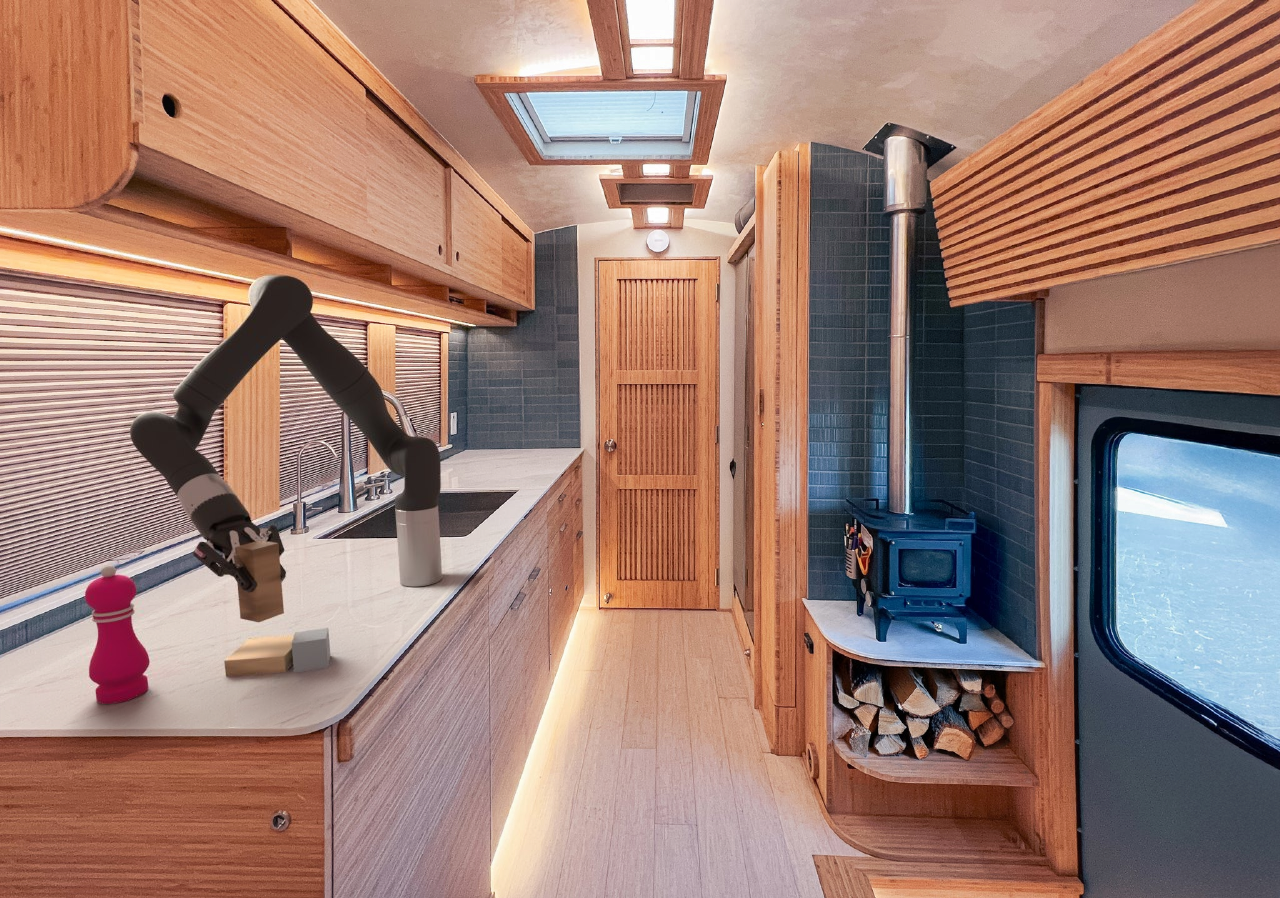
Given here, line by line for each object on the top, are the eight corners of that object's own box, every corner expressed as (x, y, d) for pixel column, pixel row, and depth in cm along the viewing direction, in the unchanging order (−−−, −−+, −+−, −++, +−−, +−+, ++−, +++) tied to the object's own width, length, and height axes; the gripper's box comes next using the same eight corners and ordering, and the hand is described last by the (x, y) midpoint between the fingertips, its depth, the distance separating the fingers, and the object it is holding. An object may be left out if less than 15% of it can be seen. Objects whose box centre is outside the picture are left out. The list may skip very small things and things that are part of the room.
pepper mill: (133, 680, 106) (119, 557, 104) (163, 687, 103) (149, 561, 101) (81, 701, 100) (64, 570, 97) (111, 709, 97) (95, 575, 94)
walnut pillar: (240, 618, 110) (234, 547, 108) (265, 609, 114) (259, 540, 113) (258, 622, 108) (252, 549, 107) (283, 613, 112) (278, 543, 111)
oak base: (251, 654, 116) (249, 638, 116) (306, 650, 117) (304, 634, 117) (226, 678, 107) (224, 660, 107) (285, 673, 108) (284, 656, 108)
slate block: (297, 661, 112) (295, 632, 112) (330, 655, 114) (328, 627, 113) (294, 673, 108) (291, 643, 107) (328, 667, 109) (326, 638, 109)
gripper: (177, 500, 105) (235, 583, 102) (261, 485, 118) (315, 559, 115) (160, 530, 108) (215, 612, 104) (244, 512, 121) (296, 585, 117)
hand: (267, 584), depth 110 cm, fingers closed on walnut pillar, 4 cm apart
